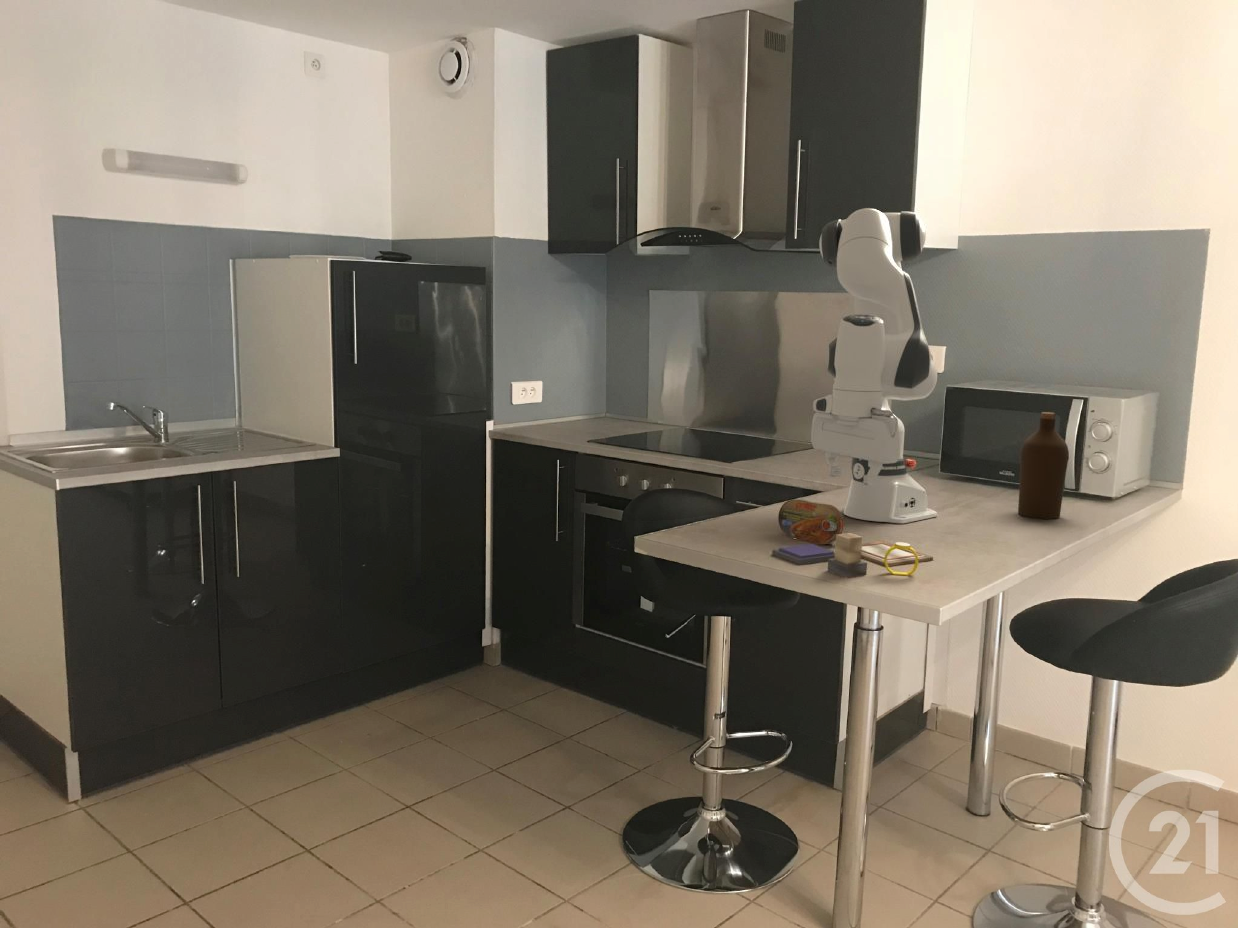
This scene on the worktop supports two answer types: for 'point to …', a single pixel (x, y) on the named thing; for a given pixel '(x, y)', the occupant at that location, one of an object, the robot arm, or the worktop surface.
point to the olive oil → (1043, 471)
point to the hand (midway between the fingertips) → (851, 480)
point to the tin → (810, 521)
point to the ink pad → (804, 554)
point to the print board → (890, 554)
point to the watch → (901, 546)
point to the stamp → (847, 556)
